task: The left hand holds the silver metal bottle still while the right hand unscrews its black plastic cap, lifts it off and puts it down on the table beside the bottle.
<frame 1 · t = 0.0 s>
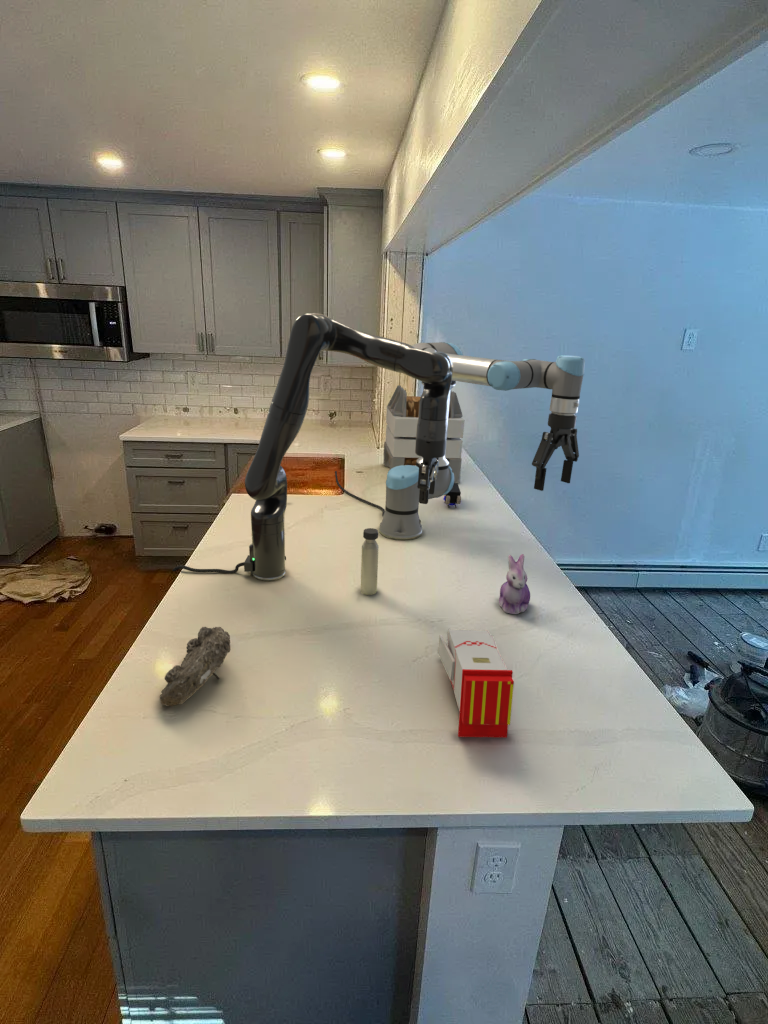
left hand: (426, 498, 145), 29 cm above the counter, tool pointing down, fingers open, 8 cm apart
right hand: (552, 485, 166), 28 cm above the counter, tool pointing down, fingers open, 13 cm apart
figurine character: (450, 504, 233), on the counter
figurine: (513, 607, 154), on the counter
toy: (469, 691, 119), on the counter
light grey slatted box: (419, 473, 275), on the counter
cap: (370, 531, 153), point 18 cm above the counter, screwed on, not yet turned
bottle: (368, 591, 159), on the counter
fossil: (201, 677, 119), on the counter
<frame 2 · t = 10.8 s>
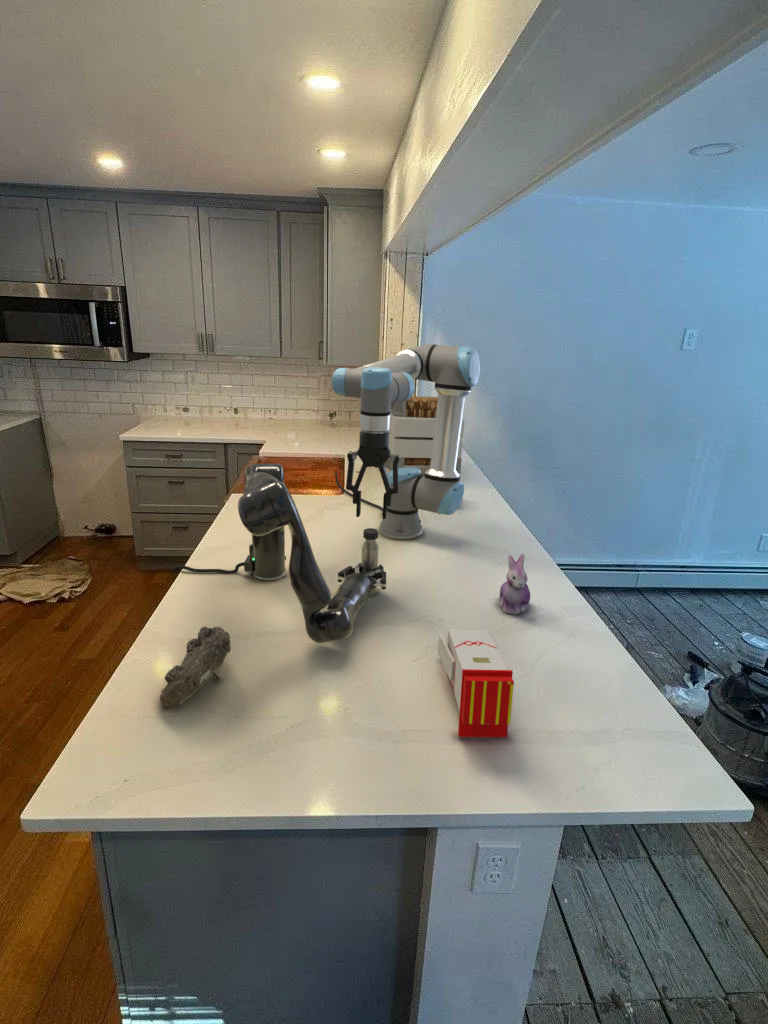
left hand: (372, 566, 159), 7 cm above the counter, tool horizontal, fingers closed on bottle, 4 cm apart
right hand: (371, 516, 151), 22 cm above the counter, tool pointing down, fingers open, 6 cm apart
bottle: (368, 591, 159), on the counter, touching left hand
everything else where it was.
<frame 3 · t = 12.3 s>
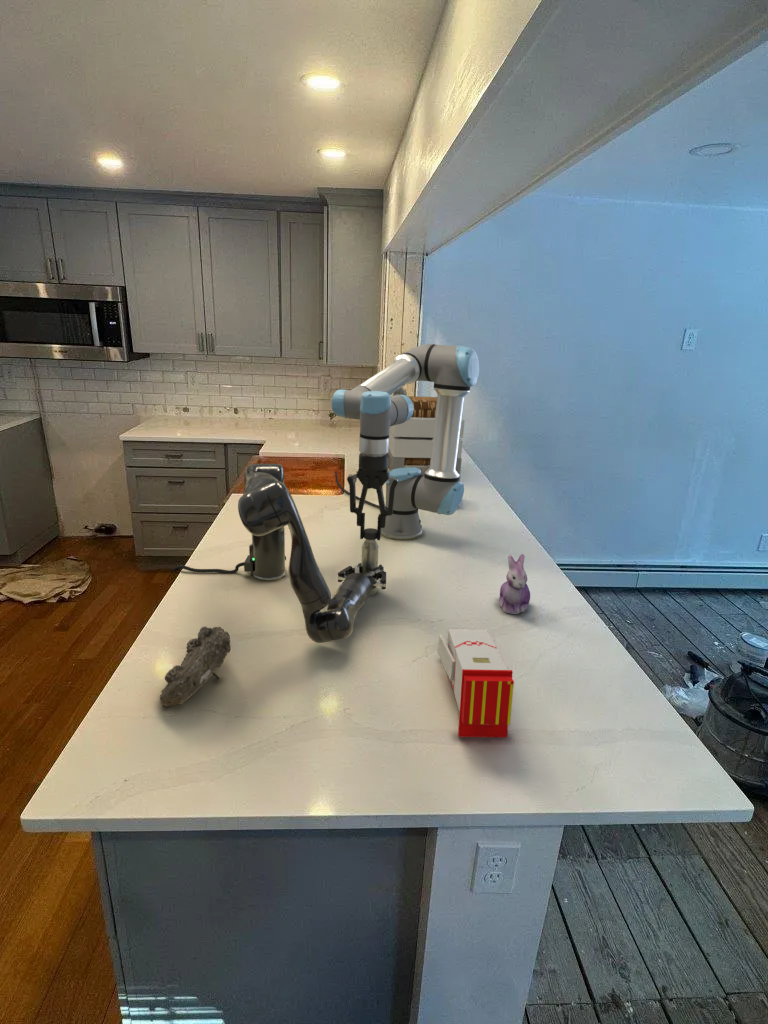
left hand: (372, 566, 159), 6 cm above the counter, tool horizontal, fingers closed on bottle, 4 cm apart
right hand: (370, 537, 153), 16 cm above the counter, tool pointing down, fingers closed on cap, 4 cm apart
cap: (370, 531, 153), point 18 cm above the counter, screwed on, not yet turned, touching right hand
bottle: (368, 591, 159), on the counter, touching left hand
everything else where it was.
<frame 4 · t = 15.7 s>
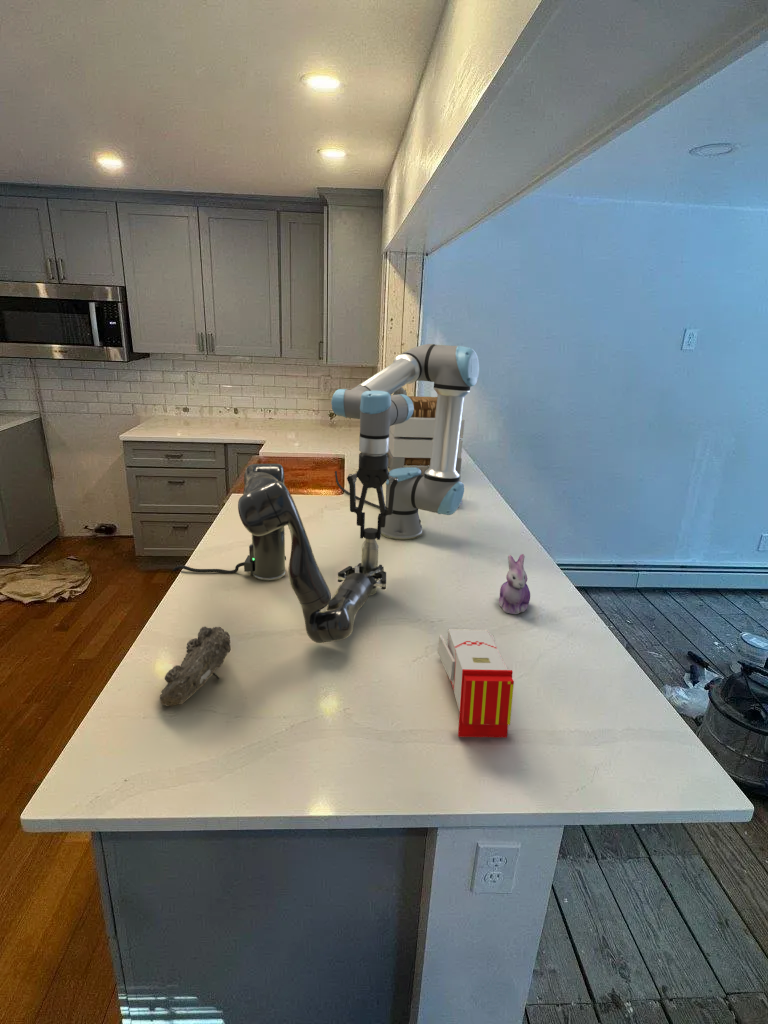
left hand: (371, 566, 159), 6 cm above the counter, tool horizontal, fingers closed on bottle, 4 cm apart
right hand: (370, 537, 153), 16 cm above the counter, tool pointing down, fingers closed on cap, 4 cm apart
cap: (370, 531, 153), point 18 cm above the counter, turned 119° so far, risen 0.1 cm, still on its thread, touching right hand
bottle: (368, 591, 159), on the counter, touching left hand
everything else where it was.
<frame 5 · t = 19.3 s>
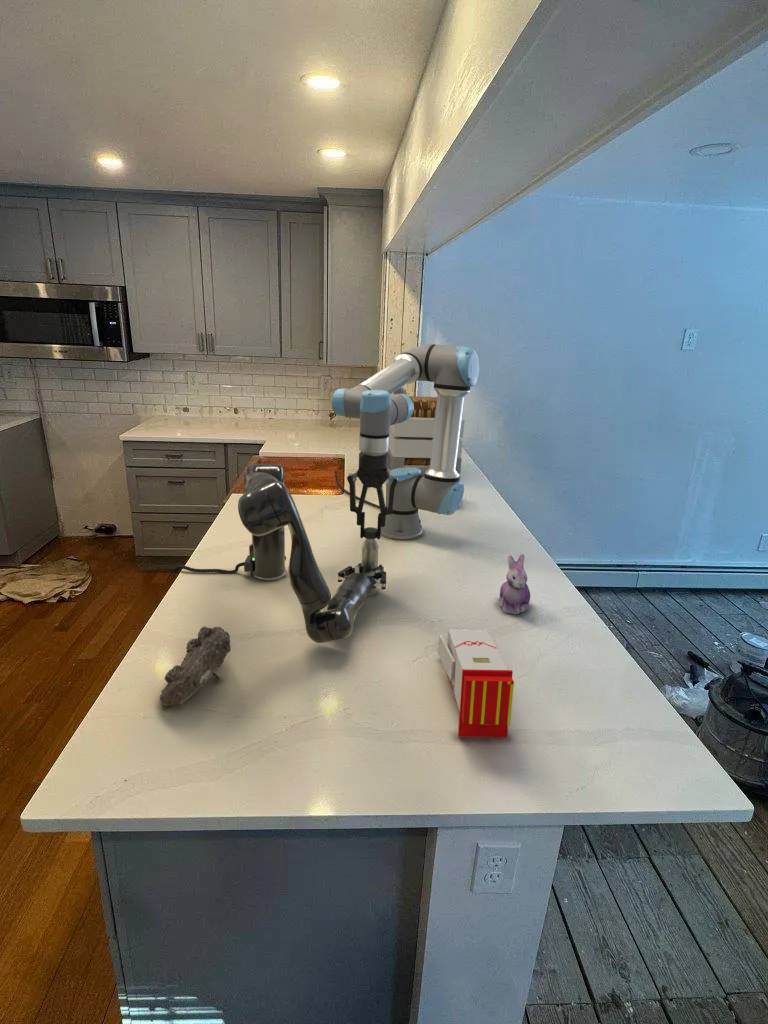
left hand: (371, 566, 159), 6 cm above the counter, tool horizontal, fingers closed on bottle, 4 cm apart
right hand: (370, 536, 153), 17 cm above the counter, tool pointing down, fingers closed on cap, 4 cm apart
cap: (370, 530, 152), point 18 cm above the counter, turned 238° so far, risen 0.3 cm, still on its thread, touching right hand
bottle: (368, 591, 159), on the counter, touching left hand
everything else where it was.
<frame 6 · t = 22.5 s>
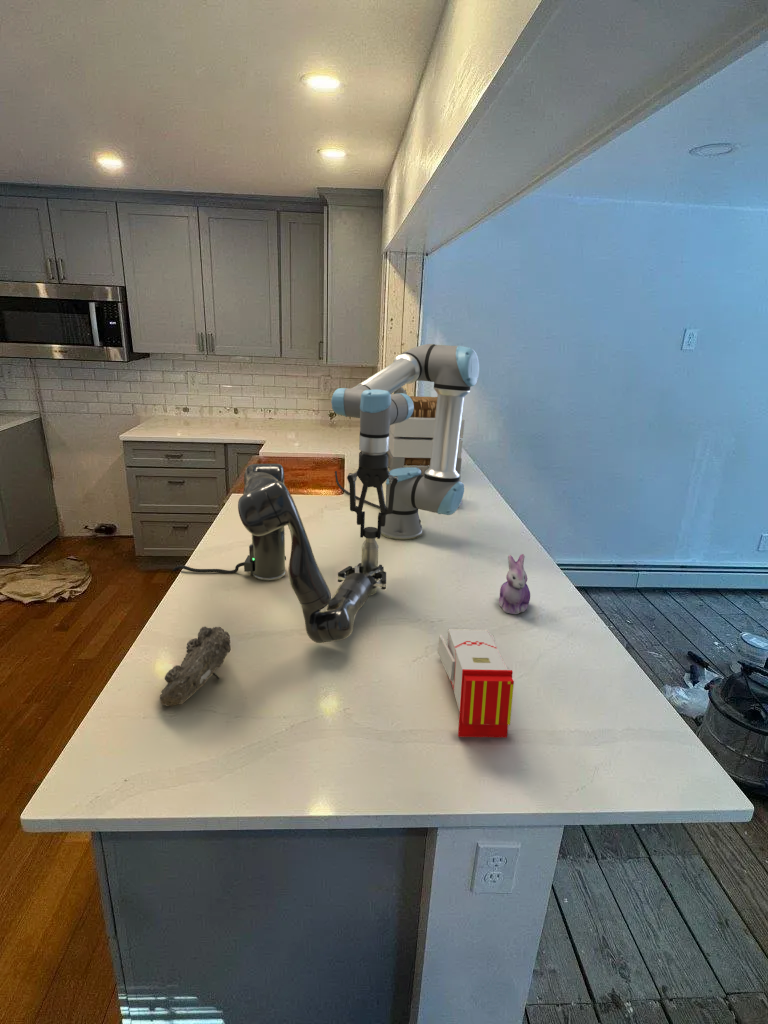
left hand: (371, 566, 159), 6 cm above the counter, tool horizontal, fingers closed on bottle, 4 cm apart
right hand: (370, 536, 153), 17 cm above the counter, tool pointing down, fingers closed on cap, 4 cm apart
cap: (370, 530, 152), point 18 cm above the counter, turned 357° so far, risen 0.4 cm, still on its thread, touching right hand
bottle: (368, 591, 159), on the counter, touching left hand
everything else where it was.
when the right hand's fingers open (2 cm above the counter, at t = 29.0 s): cap drops 2 cm, point 2 cm above the counter.
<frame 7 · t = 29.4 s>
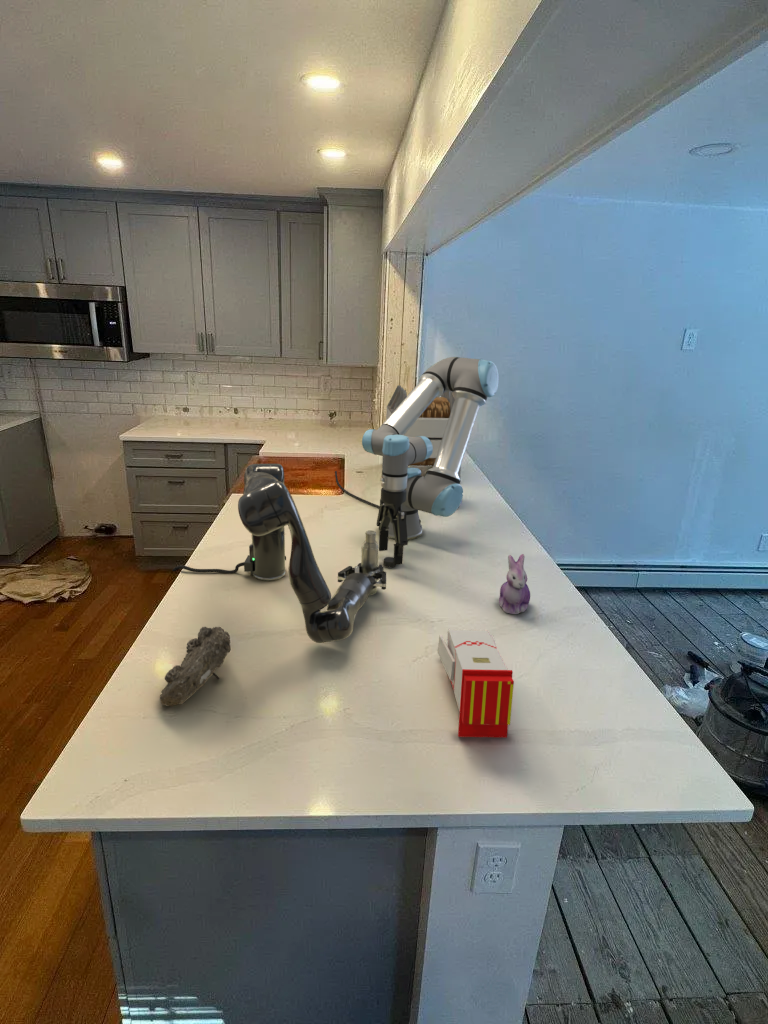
left hand: (372, 566, 159), 7 cm above the counter, tool horizontal, fingers closed on bottle, 4 cm apart
right hand: (390, 557, 174), 3 cm above the counter, tool pointing down, fingers open, 10 cm apart
cap: (389, 560, 175), point 2 cm above the counter, off its thread
bottle: (368, 591, 159), on the counter, touching left hand
everything else where it was.
when the left hand's fingers open (7 cm above the counter, at t = 30.3 s): bottle stays where it is, on the counter.
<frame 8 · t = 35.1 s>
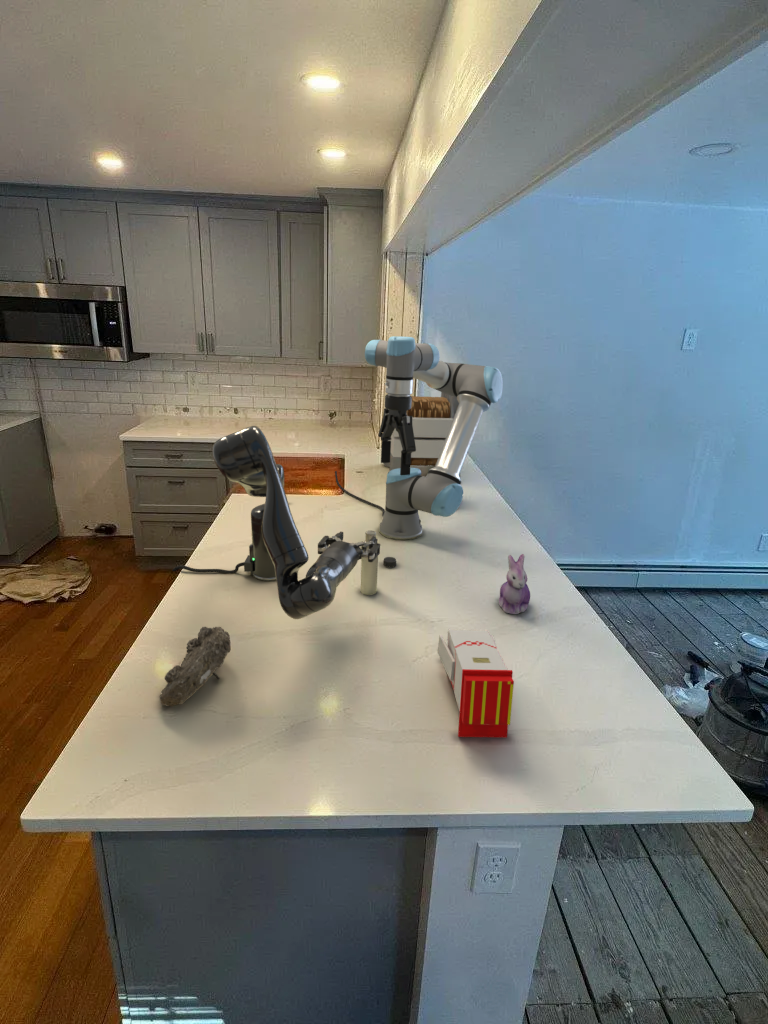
left hand: (358, 537, 141), 21 cm above the counter, tool horizontal, fingers open, 8 cm apart
right hand: (394, 468, 165), 31 cm above the counter, tool pointing down, fingers open, 13 cm apart
bottle: (368, 591, 159), on the counter
everything else where it was.
at the end: cap came off its thread; cap point 1.6 cm above the counter; the left hand is holding nothing; the right hand is holding nothing; bottle tilted 0°; bottle moved 0.0 cm from its start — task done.
